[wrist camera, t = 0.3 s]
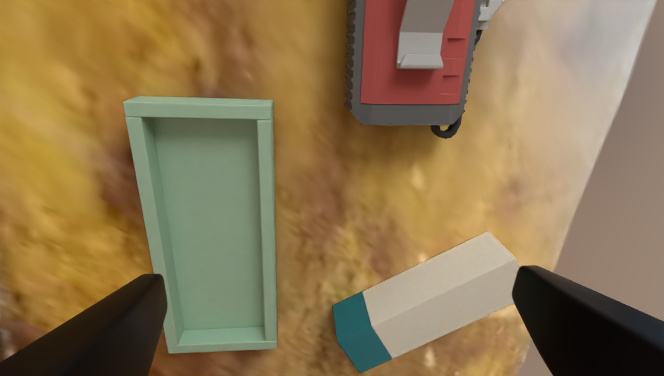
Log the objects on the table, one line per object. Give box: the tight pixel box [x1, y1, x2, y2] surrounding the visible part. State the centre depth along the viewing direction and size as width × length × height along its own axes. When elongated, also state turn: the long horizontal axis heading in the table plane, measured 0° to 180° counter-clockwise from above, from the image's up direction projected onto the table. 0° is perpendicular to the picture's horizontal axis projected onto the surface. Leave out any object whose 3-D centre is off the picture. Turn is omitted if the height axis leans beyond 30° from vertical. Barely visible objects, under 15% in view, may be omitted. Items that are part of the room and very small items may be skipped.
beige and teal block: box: [332, 231, 519, 373], centre depth 26 cm, size 13×4×4 cm, turn 118°
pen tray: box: [123, 96, 278, 354], centre depth 23 cm, size 18×8×2 cm, turn 178°
